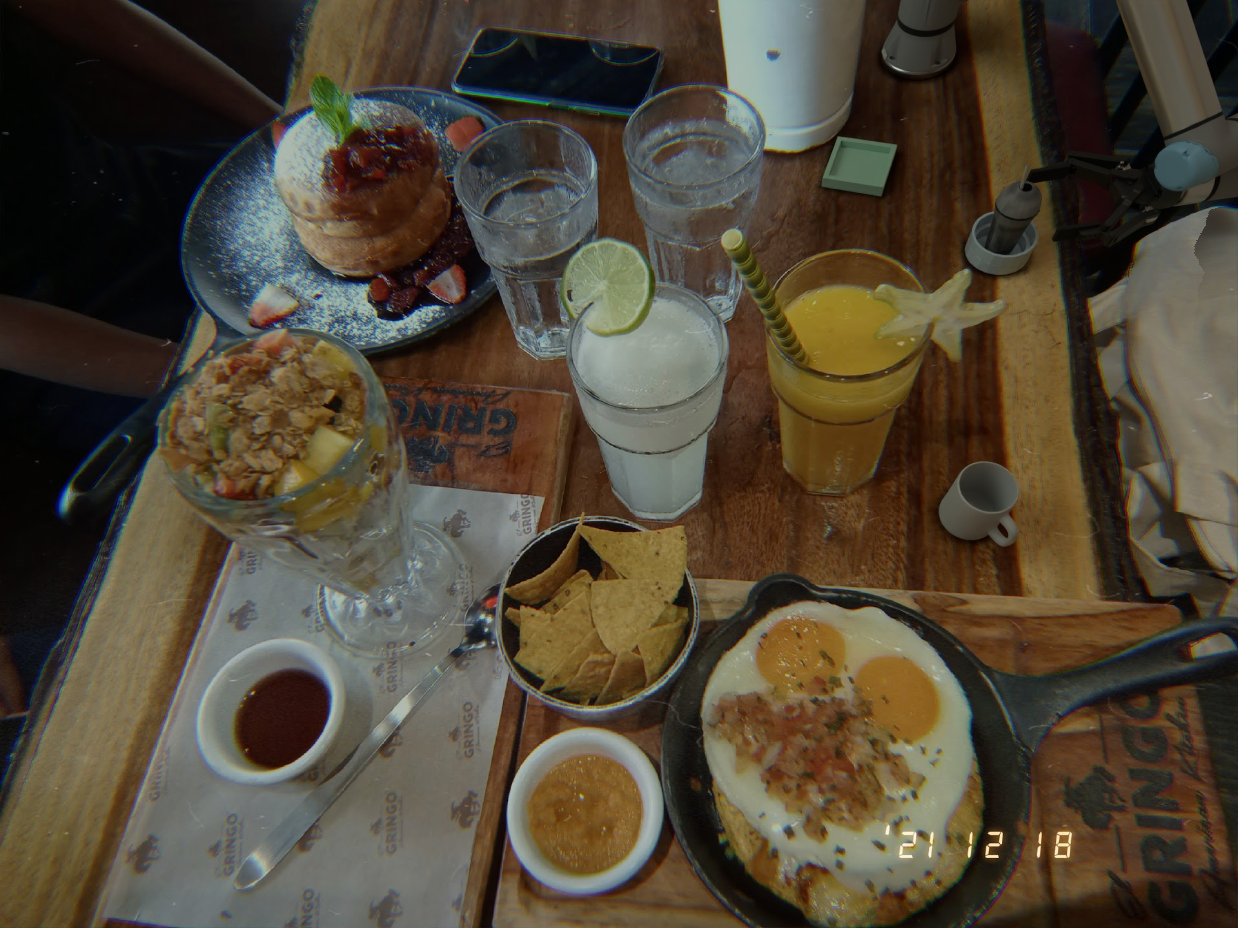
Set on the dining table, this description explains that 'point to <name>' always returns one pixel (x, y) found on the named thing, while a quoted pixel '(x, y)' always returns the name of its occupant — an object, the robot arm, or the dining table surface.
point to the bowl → (998, 262)
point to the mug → (981, 503)
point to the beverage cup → (1013, 215)
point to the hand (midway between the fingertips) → (1041, 205)
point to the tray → (859, 166)
